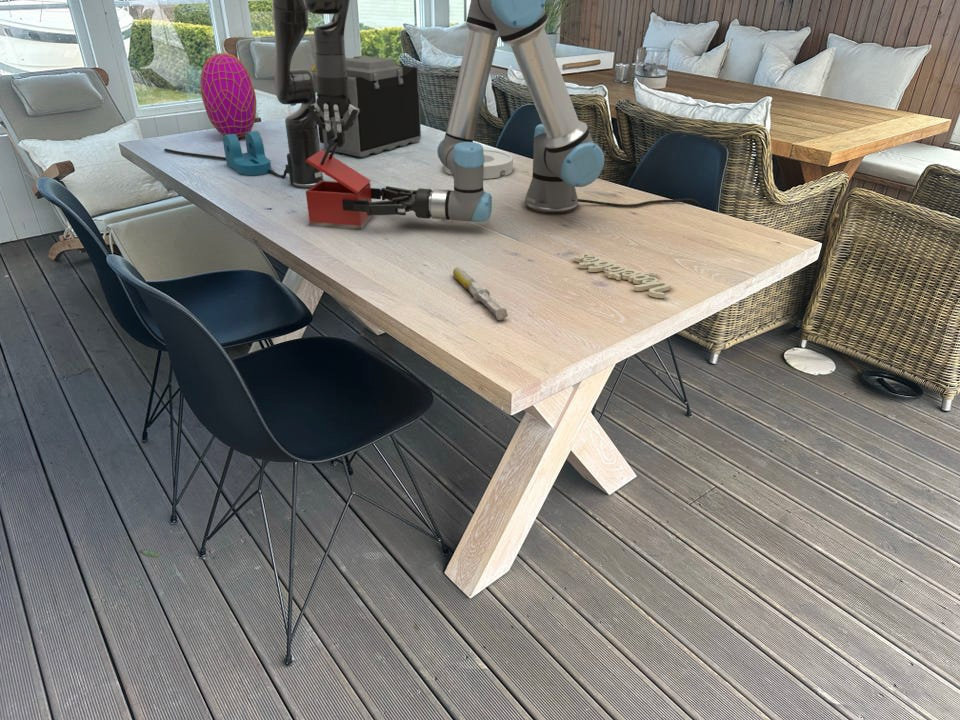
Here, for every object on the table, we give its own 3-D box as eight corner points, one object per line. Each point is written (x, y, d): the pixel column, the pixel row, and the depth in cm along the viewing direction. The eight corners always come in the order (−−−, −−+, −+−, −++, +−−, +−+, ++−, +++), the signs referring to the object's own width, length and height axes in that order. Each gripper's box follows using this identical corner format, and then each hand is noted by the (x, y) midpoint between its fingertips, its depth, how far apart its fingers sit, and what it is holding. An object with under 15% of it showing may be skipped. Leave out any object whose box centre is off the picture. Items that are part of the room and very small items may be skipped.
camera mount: (227, 164, 233) (221, 132, 227) (257, 160, 238) (252, 129, 233) (244, 176, 220) (239, 143, 215) (276, 172, 225) (271, 139, 220)
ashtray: (446, 160, 241) (446, 148, 239) (512, 161, 241) (512, 149, 239) (441, 178, 221) (440, 165, 219) (512, 179, 221) (513, 167, 219)
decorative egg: (226, 145, 255) (211, 58, 240) (200, 137, 266) (184, 53, 251) (271, 137, 268) (259, 54, 252) (244, 129, 279) (231, 49, 263)
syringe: (449, 274, 155) (449, 263, 153) (465, 272, 156) (464, 260, 154) (490, 323, 135) (491, 310, 133) (508, 319, 136) (508, 307, 134)
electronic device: (383, 133, 276) (378, 52, 261) (425, 141, 265) (422, 56, 250) (314, 150, 251) (304, 61, 235) (358, 160, 240) (350, 67, 224)
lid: (305, 161, 173) (317, 134, 169) (320, 151, 182) (332, 125, 178) (357, 194, 175) (370, 167, 171) (369, 183, 184) (382, 157, 180)
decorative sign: (686, 282, 150) (660, 295, 144) (686, 286, 150) (659, 300, 144) (592, 249, 166) (565, 259, 160) (592, 253, 167) (565, 263, 161)
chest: (309, 225, 182) (305, 191, 177) (324, 213, 191) (320, 180, 186) (360, 229, 180) (357, 194, 175) (372, 217, 189) (370, 183, 184)
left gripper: (298, 74, 164) (305, 147, 173) (353, 78, 162) (357, 152, 171) (310, 69, 170) (316, 140, 179) (363, 73, 168) (367, 145, 177)
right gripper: (421, 232, 170) (336, 226, 174) (442, 204, 190) (365, 199, 193) (420, 203, 167) (333, 197, 170) (441, 177, 186) (363, 172, 189)
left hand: (336, 146), depth 175 cm, fingers closed
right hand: (350, 198), depth 182 cm, fingers closed on chest, 10 cm apart
